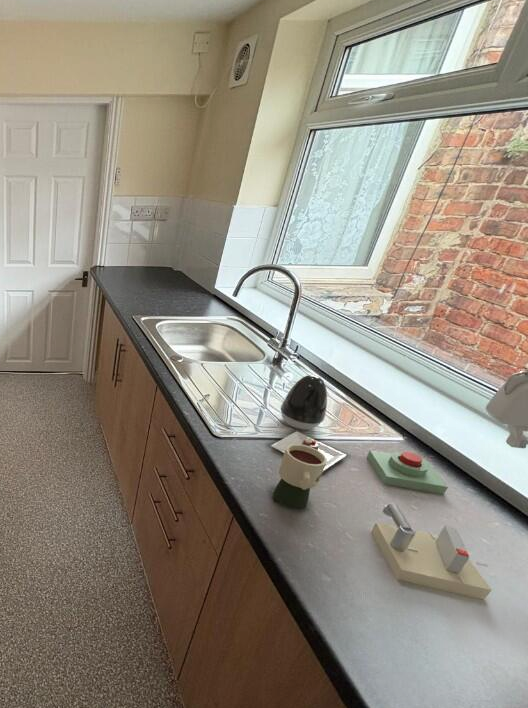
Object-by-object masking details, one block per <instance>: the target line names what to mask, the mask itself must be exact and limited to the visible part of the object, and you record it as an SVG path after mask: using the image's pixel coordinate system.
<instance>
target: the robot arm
mask: <svg viewBox="0 0 528 708" xmlns="http://www.w3.org/2000/svg"><path fill="white" fill-rule="evenodd" d="M485 410H486V413H487V415H489V416H490V417H491V418H492V419H494V420H495V421H496V422H498V423H499V424H502V425H507V429H508V432H509V435H508V437H507V438H506V439H505V442H506V444H507V445H508V446H509V447H510V448H516V449H526V448H527V445H528V438H527V437H525V435H524V432H526V433H527V432H528V369H527V368H526V369H524V370H522V371H519V372H516V373H512V374H510V375H509V377H507V379H506V380H505V383H503V384H502V385H501V386H500V387H499V389H498V390H497V391H496V392H495V393H494V394H493V395H492V397H491V399H490V400H489V401H488V403H487V404H486V406H485Z"/></svg>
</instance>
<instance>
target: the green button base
mask: <svg viewBox="0 0 528 708" xmlns="http://www.w3.org/2000/svg"><path fill="white" fill-rule="evenodd" d="M402 453H403V452H401V451H396V452H393V453H390V452H384V451H378V450H372V449H370V450H369V451H368V453H367V455H366V458H367V460H368V461H369V463H370V465H371V466H372V468H373V470H374V471H375V473H376V474H377V477H378V478H379V479H380V481H381V482H382V484H384V485H389V486H394V487H399V488H405V489H409V490H410V489H411V490H415V491H416V490H417V491H423V492H428V493H434V494H439V495H445V494H446V491H447V490H448V488H449V486H448V485H447V484H446V482H445V481H444V480H443V479H442V477H440V475H439V474H438V472H436V470H435V469H434V468H433V467H432V466H431V464H430V463H429V461H428V460H427V459H426V458H422V462H421V464H420V466H419V467H411V466H408V465H406V464H404V463H402V462H401V461H399V458H400V456H401V454H402Z"/></svg>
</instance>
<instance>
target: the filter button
mask: <svg viewBox="0 0 528 708" xmlns="http://www.w3.org/2000/svg"><path fill="white" fill-rule="evenodd" d="M401 453H402V454H401V456H400V458H399V461H401V462H402V463H404V464H406V465H408V466H411V467H419V466H420V464H421V462H422V459H423V458H422V457H421V456H420V455H419V454H417V453H414V452H411V451H403V452H401Z"/></svg>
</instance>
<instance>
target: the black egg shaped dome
mask: <svg viewBox="0 0 528 708" xmlns="http://www.w3.org/2000/svg"><path fill="white" fill-rule="evenodd" d="M327 408H328V389H327V386H326V384H325V382H324V380H323V379H322V378H321V377H320V376H318V375H315V374H307V375H305V376H303V377H301V378H300V379H299V380H298V381H296V382H295V383H294V385H293V386H292V387H291V388H290V390H289V391H288V393H287V394H286V396H285V397H284V400H282V403H281V405H280V411H281V418H282V420H283V421H284V422H285V423H286V424H287V425H288V426H290V427H292V428H294V429H297V430H298V429H299V430H303V431H305V430H307V431H308V430H313V429H315V428H317V427H318V426H320V424H321V423H323V422H324V421H325V419H326V413H327Z"/></svg>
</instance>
